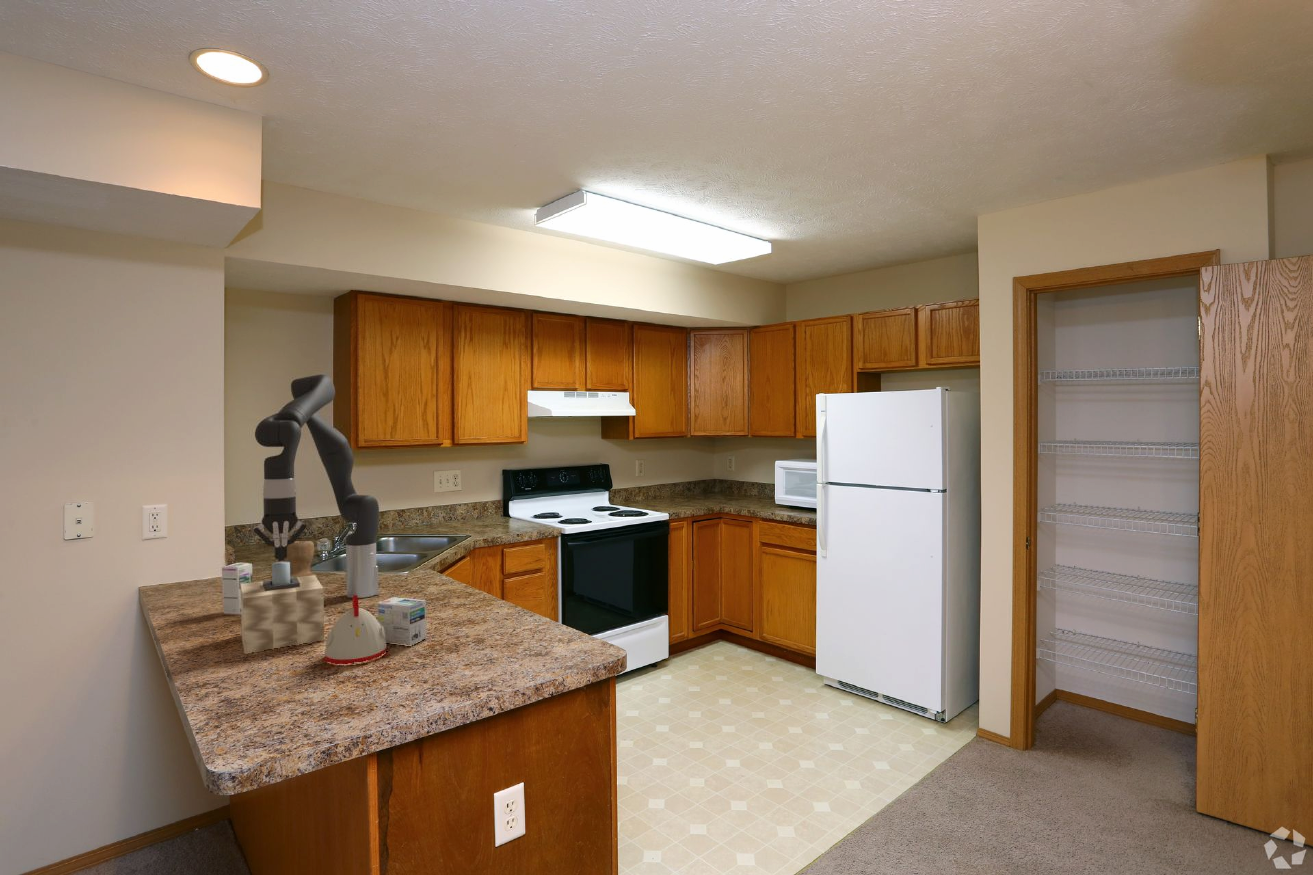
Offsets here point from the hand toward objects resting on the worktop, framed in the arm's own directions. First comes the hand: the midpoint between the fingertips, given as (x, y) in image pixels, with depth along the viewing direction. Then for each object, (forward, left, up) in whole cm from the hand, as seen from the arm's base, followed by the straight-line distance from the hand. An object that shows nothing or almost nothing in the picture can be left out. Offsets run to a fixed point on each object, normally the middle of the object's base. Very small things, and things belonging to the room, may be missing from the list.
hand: (280, 560), depth 180 cm
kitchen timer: (-14, +26, -21) cm, 36 cm away
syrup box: (+9, -36, -21) cm, 43 cm away
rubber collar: (0, 0, -7) cm, 7 cm away
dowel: (0, 0, -13) cm, 13 cm away
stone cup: (-9, -70, -21) cm, 74 cm away
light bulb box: (-26, +21, -21) cm, 40 cm away
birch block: (0, 0, -21) cm, 21 cm away
